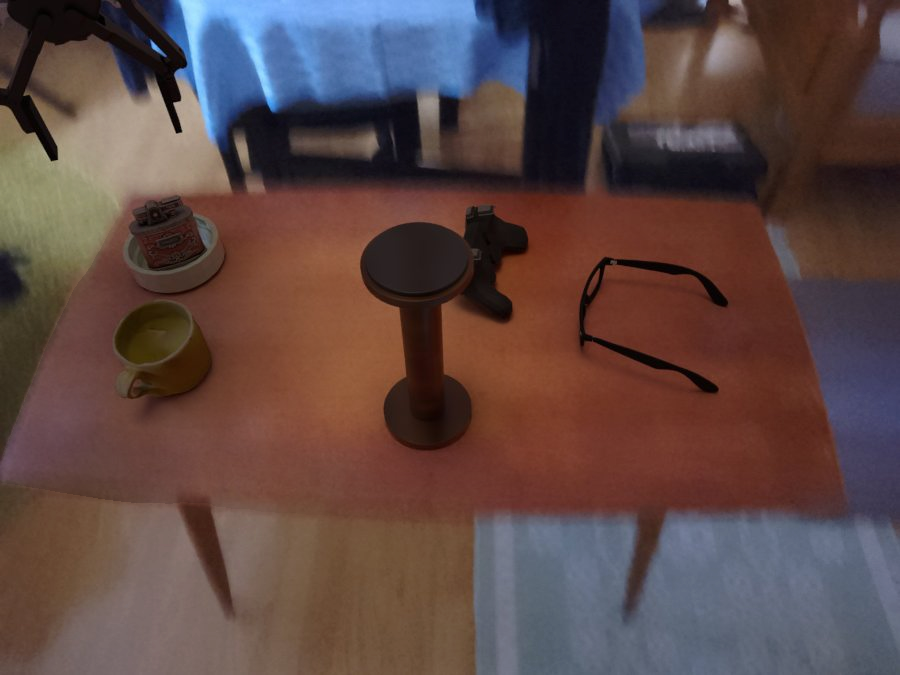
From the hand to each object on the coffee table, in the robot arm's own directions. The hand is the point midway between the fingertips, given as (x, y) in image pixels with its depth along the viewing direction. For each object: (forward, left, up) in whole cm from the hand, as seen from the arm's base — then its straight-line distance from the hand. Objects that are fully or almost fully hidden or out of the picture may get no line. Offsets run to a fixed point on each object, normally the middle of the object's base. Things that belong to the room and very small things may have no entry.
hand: (117, 140), depth 78 cm
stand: (+23, -36, -21) cm, 47 cm away
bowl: (+1, +1, -21) cm, 21 cm away
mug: (-4, -19, -21) cm, 28 cm away
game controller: (+39, -19, -21) cm, 48 cm away
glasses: (+53, -36, -21) cm, 67 cm away
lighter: (+1, +1, -20) cm, 20 cm away
